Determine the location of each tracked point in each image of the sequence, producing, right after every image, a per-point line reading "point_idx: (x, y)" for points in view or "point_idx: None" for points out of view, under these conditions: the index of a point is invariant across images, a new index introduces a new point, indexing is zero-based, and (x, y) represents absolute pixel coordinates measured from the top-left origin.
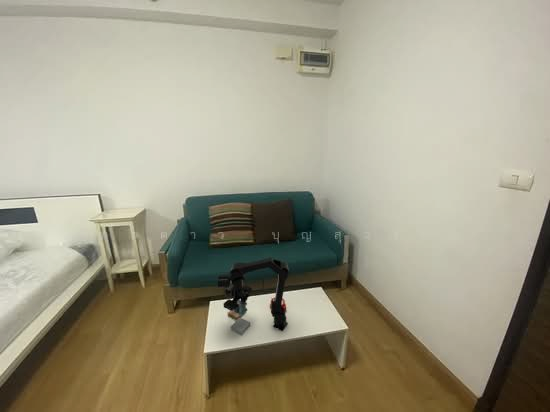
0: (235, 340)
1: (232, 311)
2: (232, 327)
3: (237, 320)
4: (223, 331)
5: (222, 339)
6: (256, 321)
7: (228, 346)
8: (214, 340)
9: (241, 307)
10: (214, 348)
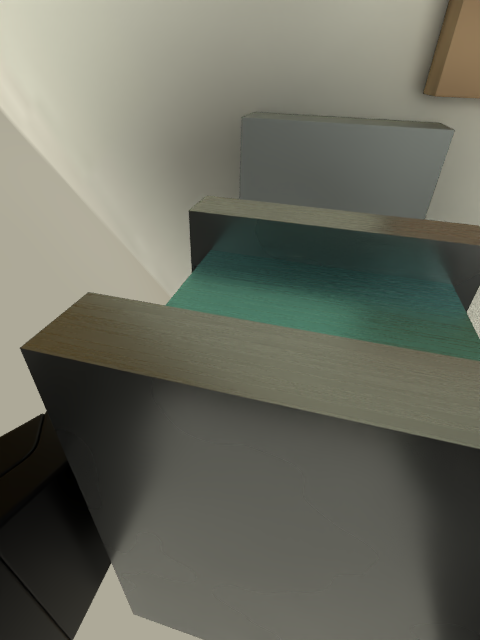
0: (177, 243)
1: (203, 207)
2: (243, 147)
3: (372, 140)
4: (188, 27)
5: (111, 113)
6: (468, 315)
7: (104, 222)
8: (47, 27)
9: (162, 617)
10: (10, 114)
